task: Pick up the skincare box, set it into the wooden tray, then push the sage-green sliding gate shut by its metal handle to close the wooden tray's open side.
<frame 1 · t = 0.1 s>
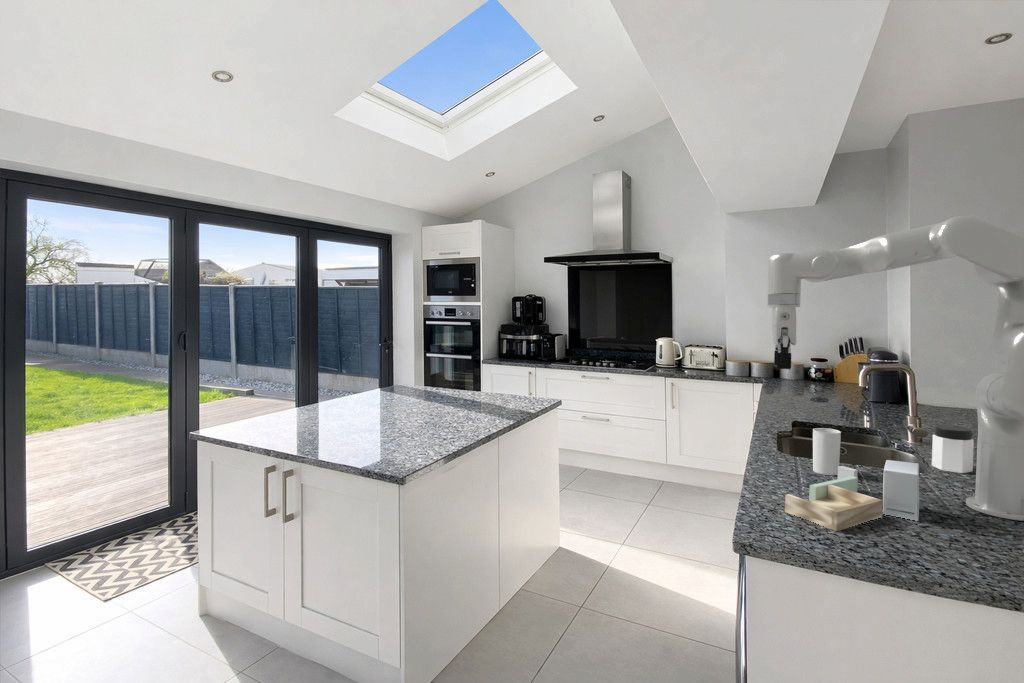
hand: (782, 367, 132), 31 cm above the countertop, tool pointing down, fingers open, 9 cm apart
wooden tray: (829, 513, 113), on the countertop
gate: (828, 483, 125), point 3 cm above the countertop, slide at 11.0 cm
skincare box: (900, 512, 115), on the countertop
mug: (828, 472, 144), on the countertop
jar: (951, 469, 146), on the countertop
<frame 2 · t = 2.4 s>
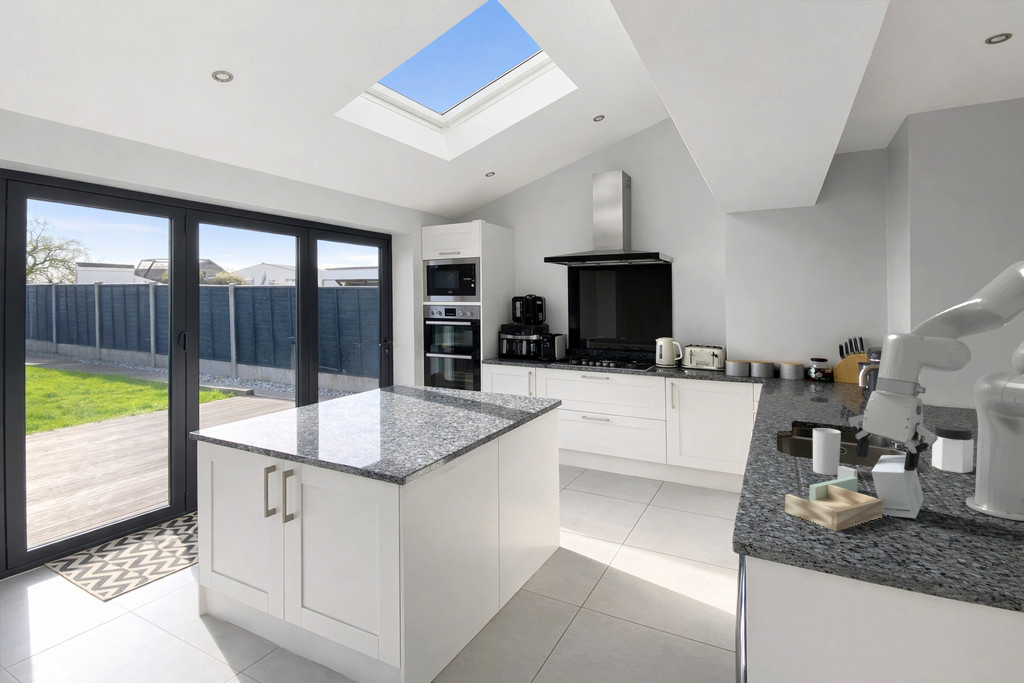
hand: (884, 463, 114), 11 cm above the countertop, tool pointing down, fingers open, 9 cm apart
skincare box: (902, 508, 114), point 1 cm above the countertop, touching gripper
everything else where it was.
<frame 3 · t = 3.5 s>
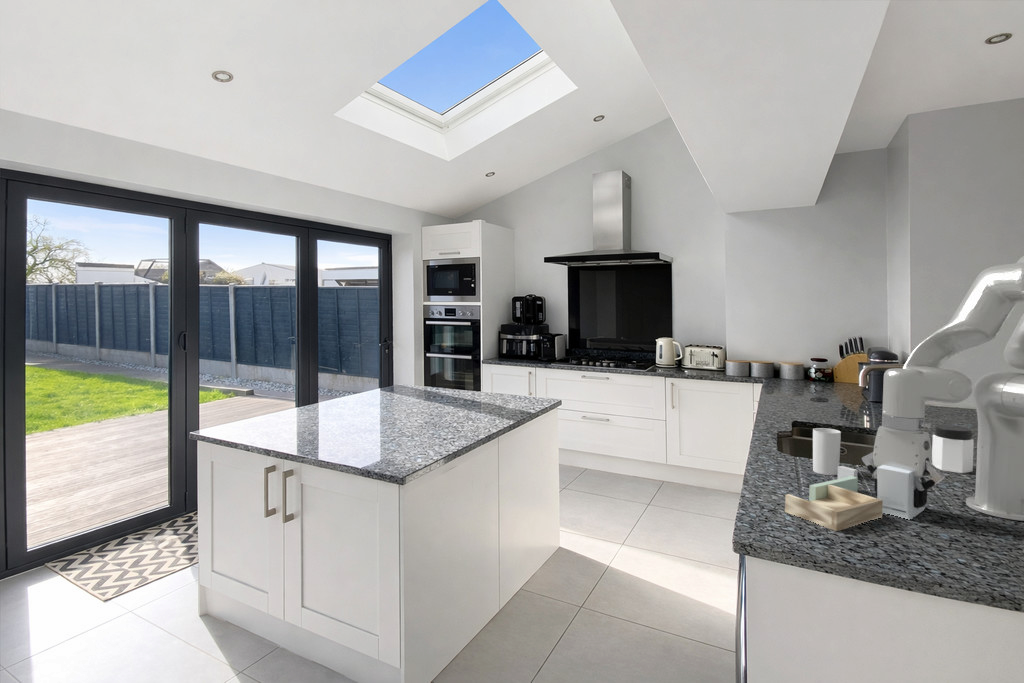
hand: (899, 500, 114), 2 cm above the countertop, tool pointing down, fingers closed on skincare box, 7 cm apart
skincare box: (900, 511, 115), on the countertop, touching gripper
everything else where it was.
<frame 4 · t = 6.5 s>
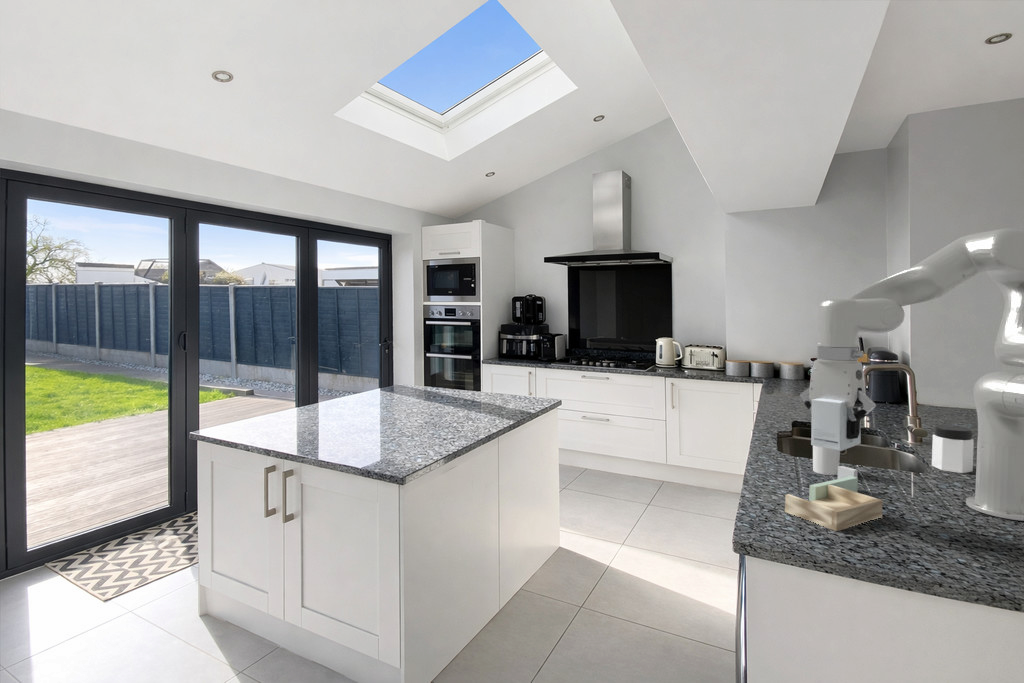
hand: (834, 434, 112), 18 cm above the countertop, tool pointing down, fingers closed on skincare box, 7 cm apart
skincare box: (835, 445, 113), point 15 cm above the countertop, touching gripper
everything else where it was.
when the fingers open (5 cm above the countertop, at t = 9.6 s): skincare box drops 1 cm, resting on wooden tray.
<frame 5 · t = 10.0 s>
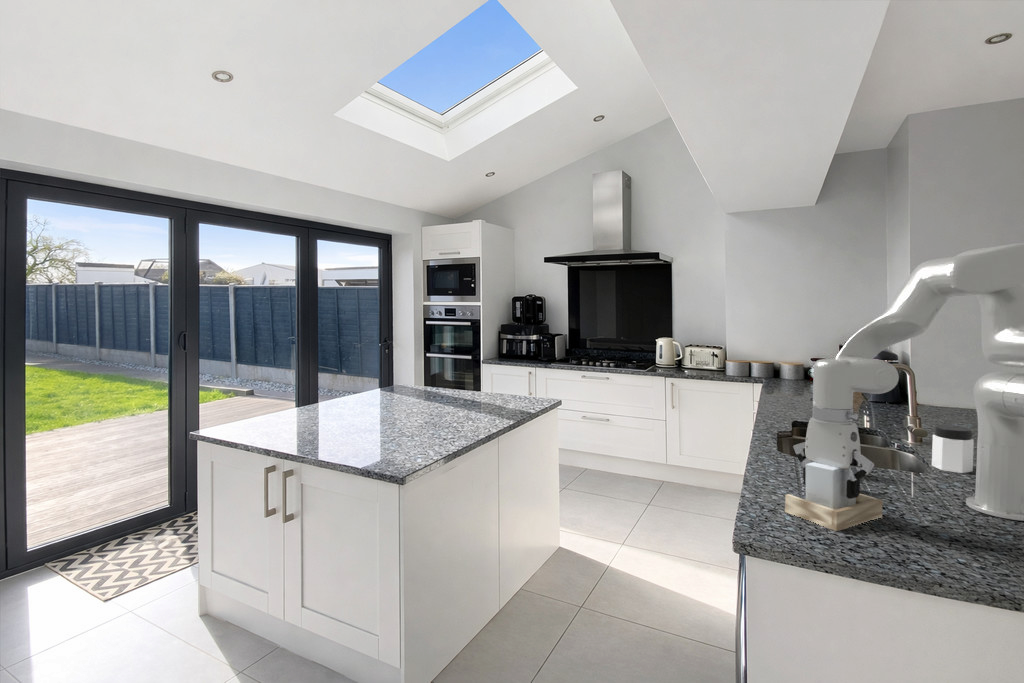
hand: (830, 490, 113), 5 cm above the countertop, tool pointing down, fingers open, 9 cm apart
skincare box: (829, 509, 114), point 1 cm above the countertop, touching wooden tray
everything else where it was.
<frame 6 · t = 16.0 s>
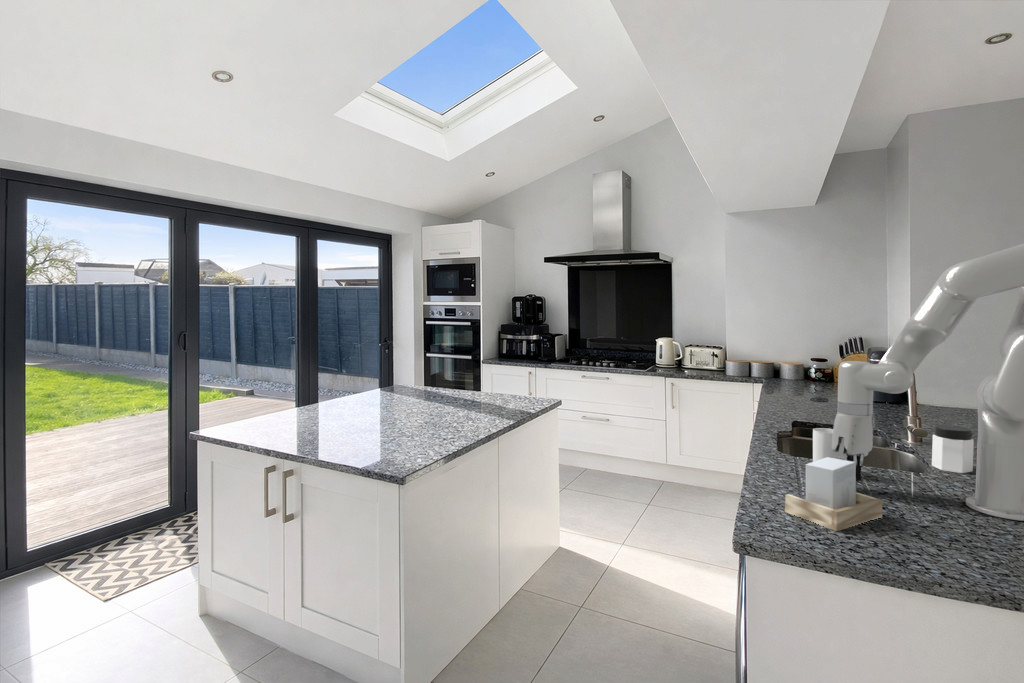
hand: (852, 479, 130), 2 cm above the countertop, tool pointing down, fingers closed
gate: (826, 483, 125), point 3 cm above the countertop, slide at 10.2 cm, touching gripper
everything else where it was.
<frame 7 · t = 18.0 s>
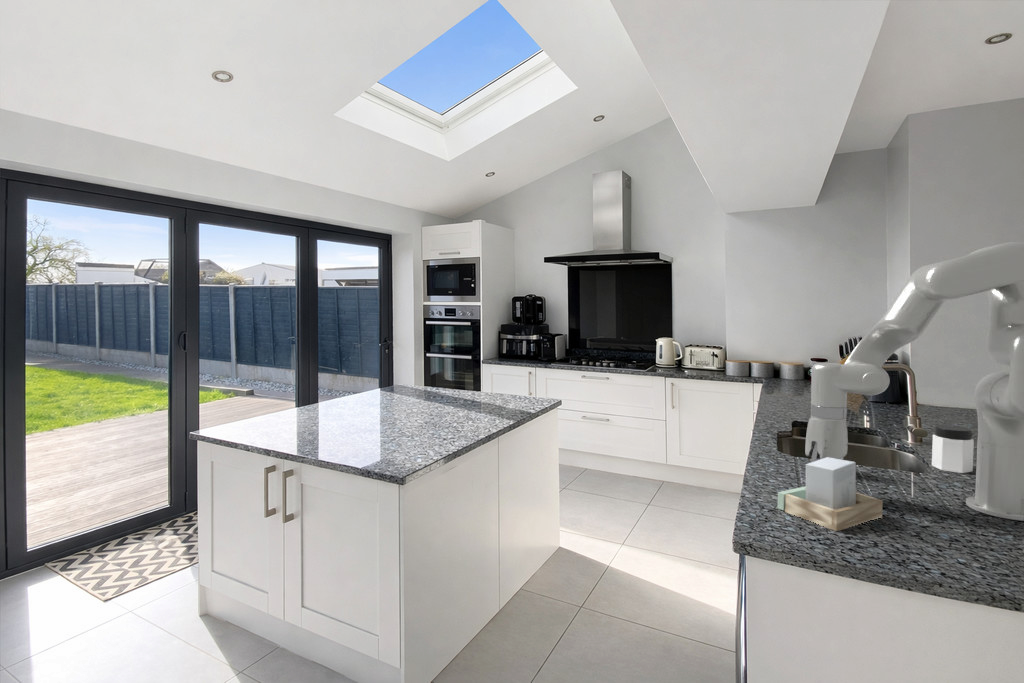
hand: (826, 485, 126), 2 cm above the countertop, tool pointing down, fingers closed
gate: (799, 490, 120), point 3 cm above the countertop, slide at -0.2 cm, touching gripper
everything else where it was.
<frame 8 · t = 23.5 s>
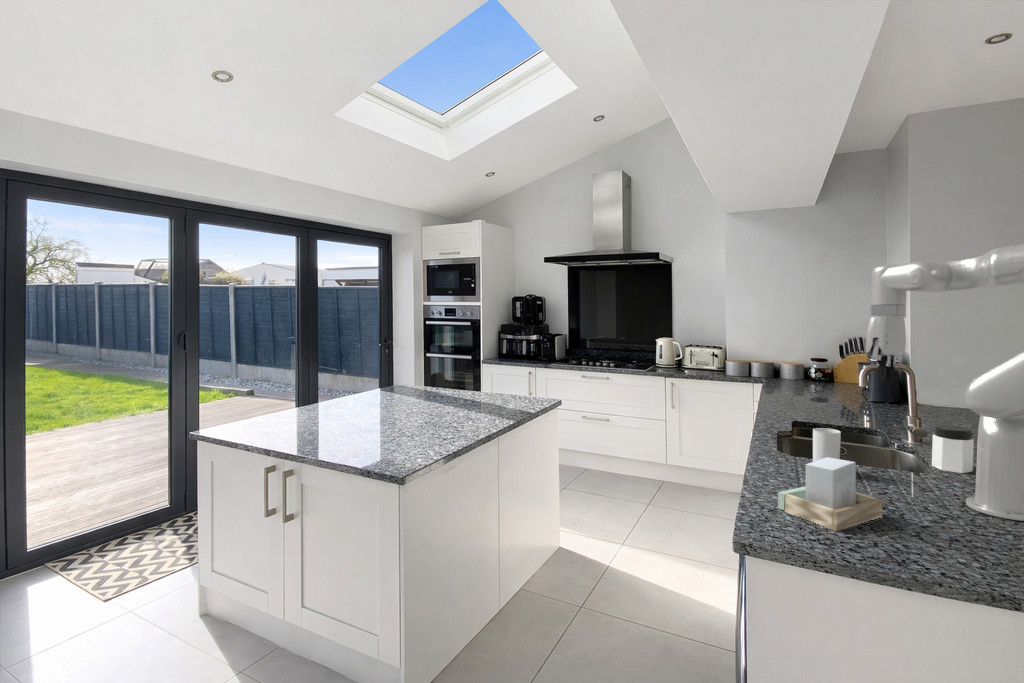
hand: (885, 381, 134), 27 cm above the countertop, tool pointing down, fingers closed
gate: (799, 489, 120), point 3 cm above the countertop, slide at 0.0 cm
everything else where it was.
at the end: skincare box 0.7 cm off-centre on the wooden tray, point 0.8 cm above the wooden tray's base; skincare box tilted 0°; gate slide at 0.0 cm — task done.
